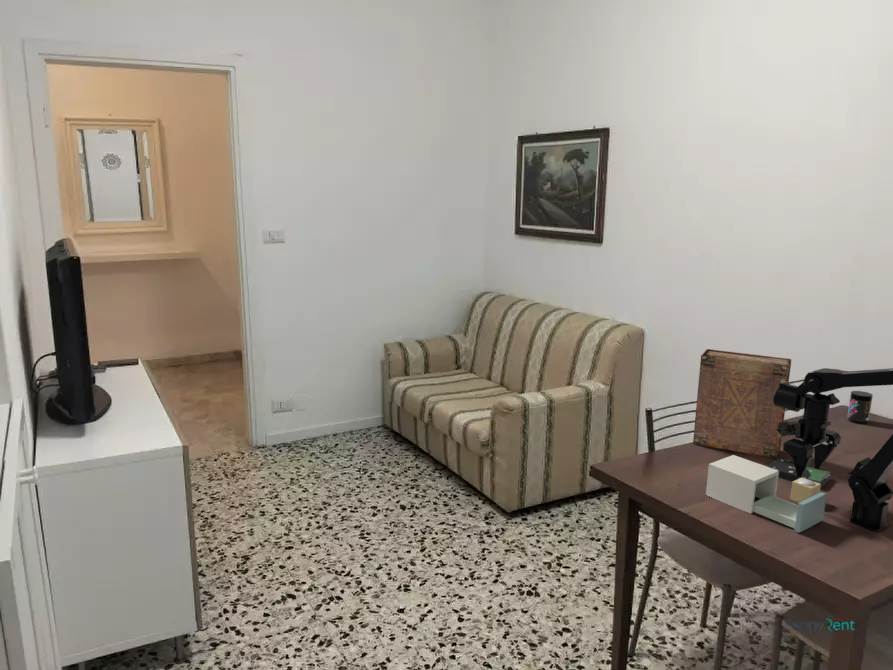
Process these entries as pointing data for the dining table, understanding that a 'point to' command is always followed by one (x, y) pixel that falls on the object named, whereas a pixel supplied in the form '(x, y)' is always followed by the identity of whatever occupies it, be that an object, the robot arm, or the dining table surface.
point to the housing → (740, 482)
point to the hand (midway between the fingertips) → (808, 472)
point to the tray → (793, 511)
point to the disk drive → (789, 473)
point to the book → (740, 402)
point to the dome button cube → (804, 489)
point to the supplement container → (859, 407)
